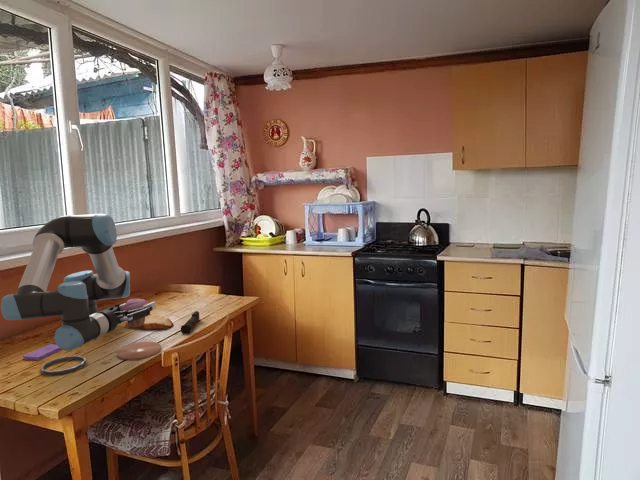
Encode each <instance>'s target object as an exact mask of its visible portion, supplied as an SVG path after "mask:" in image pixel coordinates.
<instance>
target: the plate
mask: <svg viewBox="0 0 640 480" xmlns="http://www.w3.org/2000/svg"><path fill="white" fill-rule="evenodd" d="M161 351H162V345H161V343H159V342H156V341H140V342H134V343H130V344H126V345H124V346H123V347H121V348H119V349H118V350H117V351H116V356H117V358H118V359H120V360H127V361H129V360H130V361H131V360H133V361H134V360H142V359H146V358H149V357H152V356H154V355H157V354H158V353H160V352H161Z"/></svg>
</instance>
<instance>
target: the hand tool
mask: <svg viewBox="0 0 640 480" xmlns="http://www.w3.org/2000/svg"><path fill="white" fill-rule="evenodd" d="M199 322H200V312H199V311H198V310H196V311H194V312H193V313H191V317H190V318H189V319H188V320H187V321H185V323H184V324H183V325H181V326H180V332H181V334H183V335H185V334H190V333H191V332H192V329H193V328H194V327H195V325H198V324H199Z"/></svg>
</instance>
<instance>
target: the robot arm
mask: <svg viewBox="0 0 640 480" xmlns="http://www.w3.org/2000/svg"><path fill="white" fill-rule="evenodd" d="M117 234H118V233H117V229H116V224H115V221H114V218H112V216H111V215H110V214H107V213H90V214H77V215H76V214H73V215H61V216H58V217H56V218H54V219H51V220H49V221H48V222H47V223H45V224H44V225H43V226H42V227H41V228H40V229H39V230H38V231H37V232H36V233H35V235H34V237H33V240H32V247H33V249H32V252H31V255H30V257H29V259H28V262H27V264H26V268H25V270H24V271H23V275H22V277H21V280H20V282H19V285H18V287H17V290H16V292H15V293H11V294H7V295H5V296H3V297H2V299H1V302H0V310H1V315H2V317H3V318H4V319H5V320H6V321H23V320H32V319H39V318H40V319H41V318H48V317H49V318H50V317H51V318H52V317H59V316H60V319H61V326H60V327H59V328H57V329H56V331H55V333H54V336H53V337H54V339H53V340H54V342H55V343H54V344H56V345H57V346H58V347H59V348H61V349H62V350H64V351H72V350H75V349H77V348H81V347H82V346H83V345H85V344H87V343H89V342H92V341H96V340H97V339H99V337H102V336H104V335H107V334H109V333H111V332H113V331H114V330H115V329H116V328H117V326H118V325H119V324H122V323H123V322H127V321H128V323H130V322H132V321H134V320H137V319H140V318H143V317H145V318H146V317H148V316H151V312H152V311H154V310H156V308H157V305H156V301H152V302H149V303H148V304H147V305H144V306H142V308H138V309H134V310H130V311H126V310H125V311H123V306H124V305H125V304H126V302H124V303H122V304H120V305H119V303H115V304H114V305H110V306H109V307H107V308H104V309H102V310H99V308H98V306H97V301H103V300H115V299H123V298H128V297H129V296H130V294H131V273H130V271H128V270H124V269H123V268H122V266H121V267H120V266H119V263H118V261H117V258H116V254H115V251H114V249H113V245H115V244H116V242H117V237H118V235H117ZM68 248H81V249H82V250H83V252H85V253H86V254H88V255H89V257H90V260H91V262H92V265H93V268H94V269H95V271H96V273H94V271H93V270H83V271H78V272H73V273H71V274H68V275H67V276H65V277H64V278H63V283H60V284H58V286H57V290H48V286H49V284H50V281H51V278H52V274H53V273H54V269H55V267H56V262H57V260H58V257H59V255H60V254H62V253H63V251H64V250H65V249H68ZM124 313H125V314H124ZM62 350H61V351H62Z"/></svg>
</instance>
